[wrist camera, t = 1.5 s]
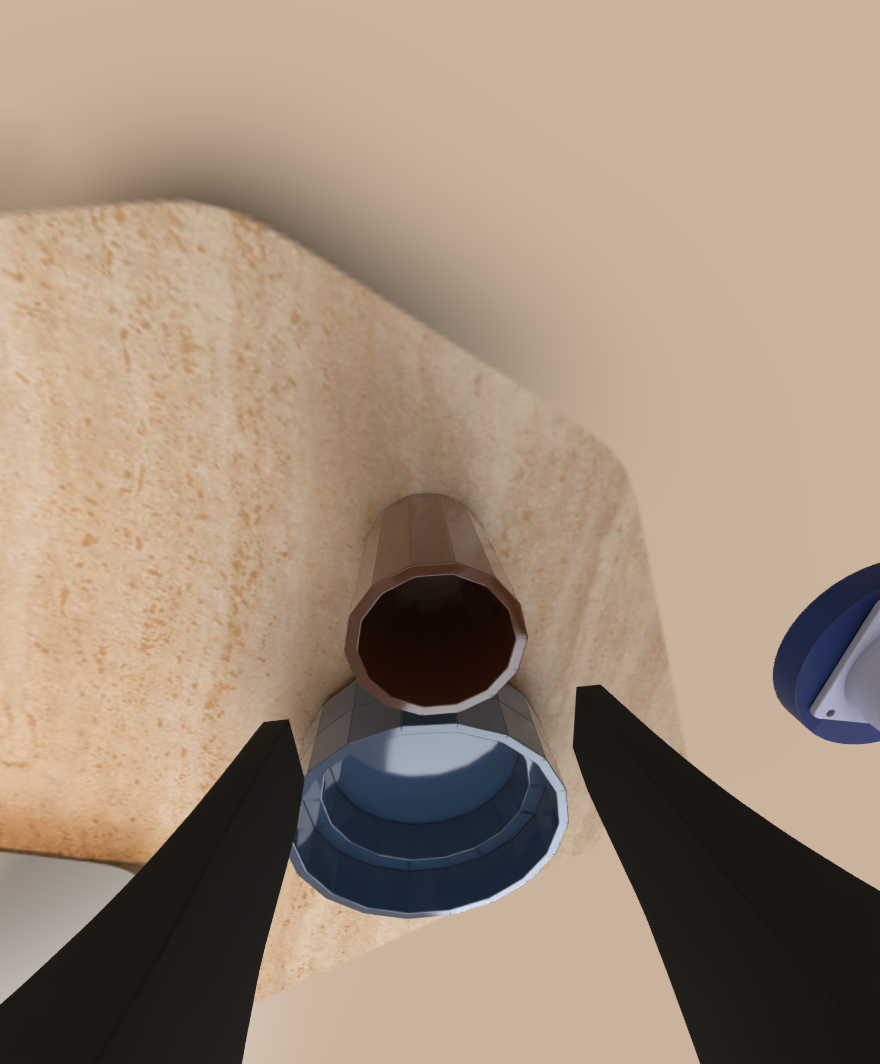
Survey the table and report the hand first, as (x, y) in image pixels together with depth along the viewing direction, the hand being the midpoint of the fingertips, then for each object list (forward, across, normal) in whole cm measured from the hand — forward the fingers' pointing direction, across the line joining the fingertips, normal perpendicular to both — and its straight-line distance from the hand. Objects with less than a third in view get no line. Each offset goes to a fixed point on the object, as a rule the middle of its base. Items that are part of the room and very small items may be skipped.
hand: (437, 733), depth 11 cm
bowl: (+10, +1, +11) cm, 15 cm away
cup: (+10, 0, -1) cm, 10 cm away
